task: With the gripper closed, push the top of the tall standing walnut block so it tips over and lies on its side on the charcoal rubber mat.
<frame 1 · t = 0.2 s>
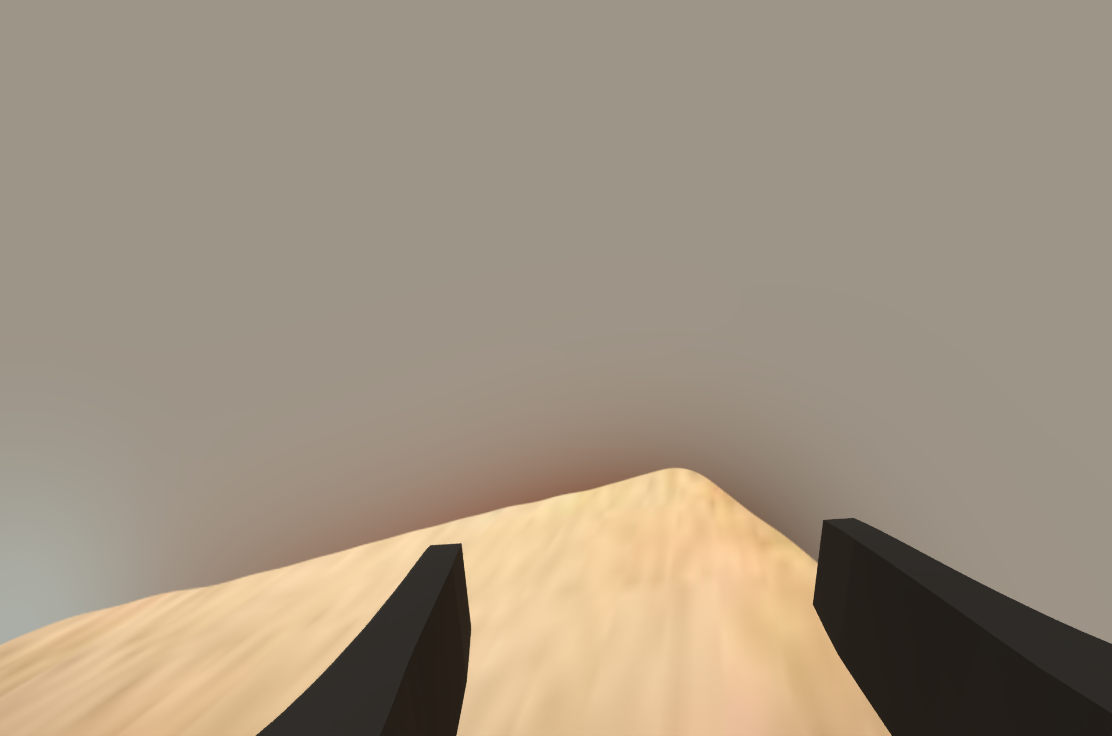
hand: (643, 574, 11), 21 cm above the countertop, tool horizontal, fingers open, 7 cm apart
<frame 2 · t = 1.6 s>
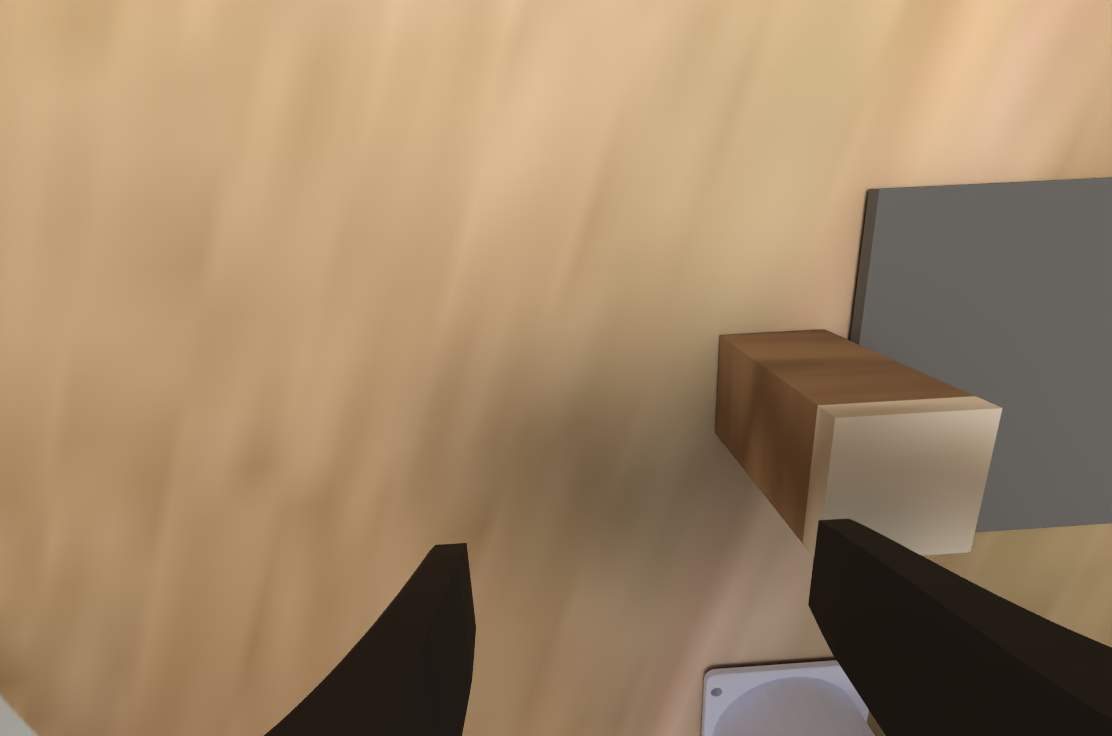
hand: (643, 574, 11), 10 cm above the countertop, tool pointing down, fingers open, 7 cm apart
walnut block: (768, 382, 21), on the countertop
rubber mat: (1045, 367, 21), on the countertop
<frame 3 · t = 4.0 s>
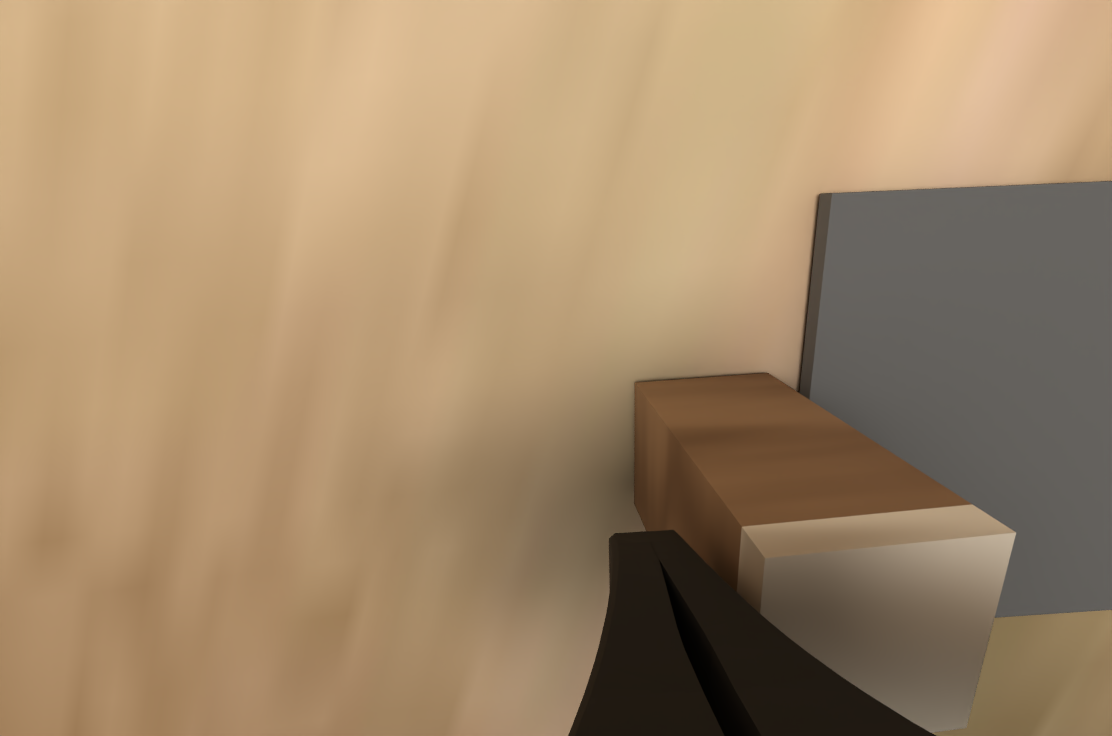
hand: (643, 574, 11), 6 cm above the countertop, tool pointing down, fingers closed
walnut block: (699, 440, 16), on the countertop, touching gripper
rubber mat: (1048, 419, 17), on the countertop
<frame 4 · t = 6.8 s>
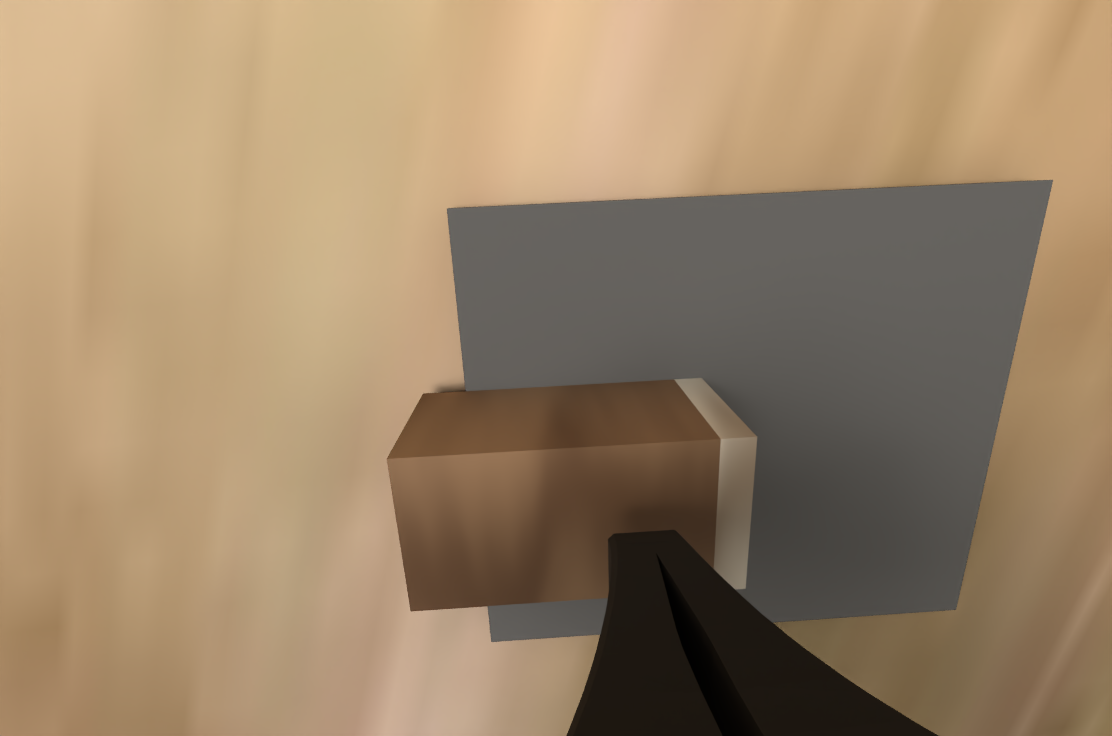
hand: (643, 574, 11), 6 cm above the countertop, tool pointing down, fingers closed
walnut block: (417, 492, 14), point 3 cm above the countertop, tilted 90°, touching rubber mat
rubber mat: (731, 430, 17), on the countertop
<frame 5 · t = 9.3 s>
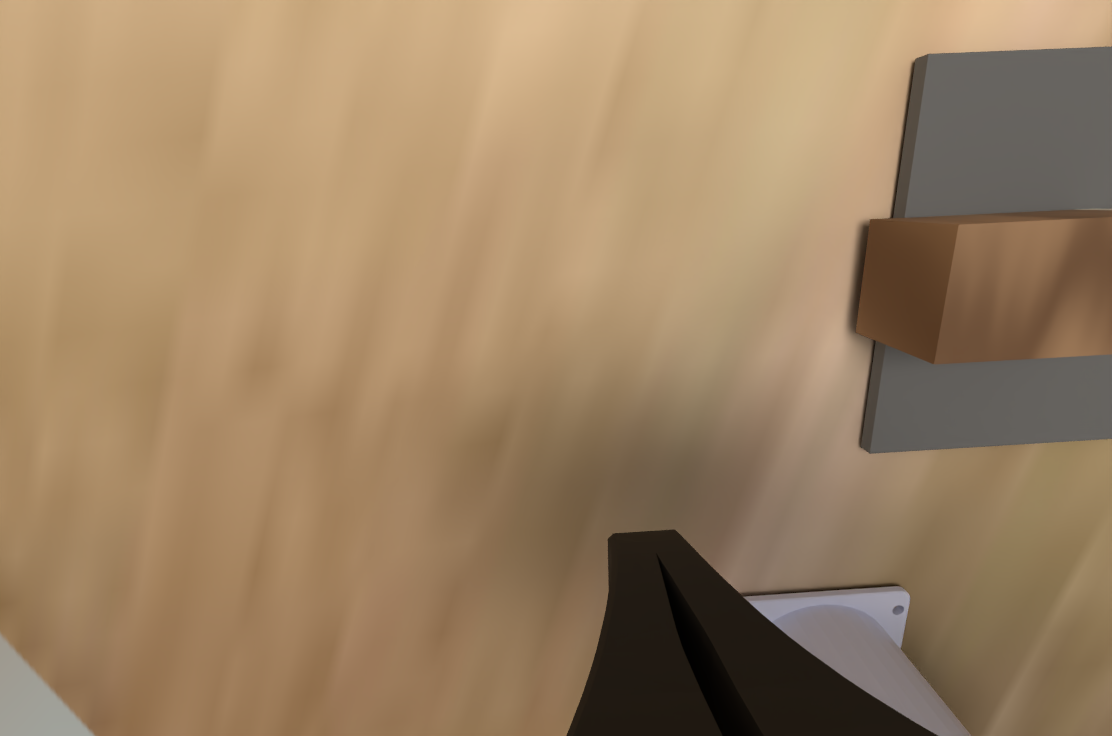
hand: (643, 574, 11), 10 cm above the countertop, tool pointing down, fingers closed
walnut block: (899, 286, 17), point 3 cm above the countertop, tilted 90°, touching rubber mat
rubber mat: (1096, 262, 20), on the countertop
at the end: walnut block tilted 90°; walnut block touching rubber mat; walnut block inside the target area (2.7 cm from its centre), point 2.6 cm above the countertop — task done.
